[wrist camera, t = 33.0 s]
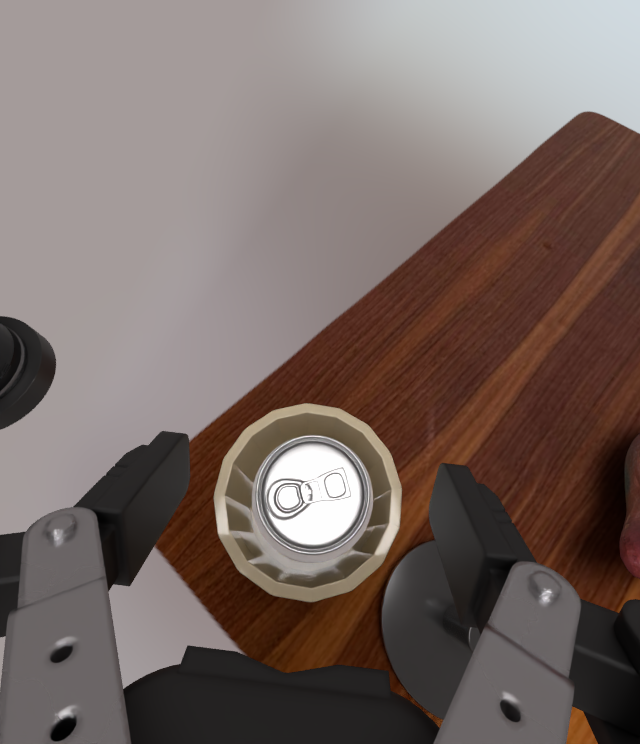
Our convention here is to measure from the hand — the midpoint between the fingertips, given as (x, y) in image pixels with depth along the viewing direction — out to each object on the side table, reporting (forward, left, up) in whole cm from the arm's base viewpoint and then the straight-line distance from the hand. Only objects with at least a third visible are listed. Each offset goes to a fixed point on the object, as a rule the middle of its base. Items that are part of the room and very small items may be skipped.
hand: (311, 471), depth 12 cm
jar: (0, 0, -19) cm, 19 cm away
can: (0, 0, -19) cm, 19 cm away
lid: (+13, -1, -19) cm, 23 cm away
